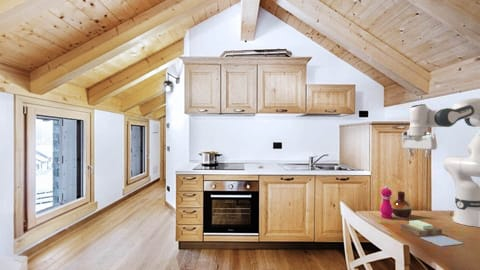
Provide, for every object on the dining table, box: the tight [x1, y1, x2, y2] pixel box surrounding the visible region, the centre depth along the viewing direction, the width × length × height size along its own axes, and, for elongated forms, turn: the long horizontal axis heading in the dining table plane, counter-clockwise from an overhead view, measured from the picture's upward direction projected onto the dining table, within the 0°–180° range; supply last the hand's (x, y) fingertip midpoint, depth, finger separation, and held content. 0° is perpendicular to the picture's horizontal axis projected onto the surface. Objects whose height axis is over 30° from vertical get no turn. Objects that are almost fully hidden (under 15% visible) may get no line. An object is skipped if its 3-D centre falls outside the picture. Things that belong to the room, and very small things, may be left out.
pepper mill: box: [379, 185, 393, 220], centre depth 173 cm, size 7×7×20 cm
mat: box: [419, 234, 465, 247], centre depth 134 cm, size 13×12×1 cm
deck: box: [400, 223, 443, 238], centre depth 146 cm, size 14×12×3 cm
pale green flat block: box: [408, 219, 434, 230], centre depth 146 cm, size 6×9×2 cm, turn 12°
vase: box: [391, 190, 412, 218], centre depth 176 cm, size 11×11×15 cm
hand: (418, 157), depth 154 cm, fingers open, 8 cm apart
